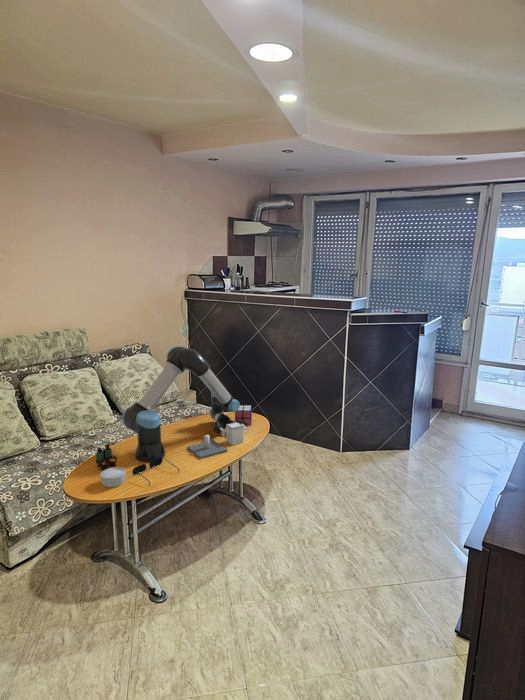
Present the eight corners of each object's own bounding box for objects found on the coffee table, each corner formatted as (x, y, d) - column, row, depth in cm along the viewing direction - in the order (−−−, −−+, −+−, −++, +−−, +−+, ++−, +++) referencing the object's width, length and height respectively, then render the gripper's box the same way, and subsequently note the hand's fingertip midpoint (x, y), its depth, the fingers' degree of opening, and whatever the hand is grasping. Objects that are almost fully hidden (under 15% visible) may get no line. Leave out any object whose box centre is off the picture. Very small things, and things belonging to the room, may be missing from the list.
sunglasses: (161, 464, 220) (162, 455, 218) (180, 477, 211) (180, 468, 209) (131, 476, 207) (131, 467, 206) (149, 491, 198) (149, 481, 197)
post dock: (200, 459, 225) (199, 444, 223) (187, 448, 238) (186, 434, 236) (227, 451, 234) (227, 437, 232) (213, 441, 247) (212, 428, 245)
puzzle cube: (251, 425, 271) (250, 410, 269) (235, 425, 271) (234, 410, 269) (251, 420, 281) (251, 405, 279) (236, 420, 281) (235, 405, 279)
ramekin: (130, 478, 205) (130, 467, 204) (119, 490, 194) (118, 479, 193) (108, 476, 207) (107, 466, 206) (96, 488, 196) (95, 477, 195)
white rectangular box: (232, 445, 242) (232, 428, 240) (226, 441, 247) (226, 424, 246) (243, 442, 246) (243, 425, 244) (236, 438, 251) (236, 422, 249)
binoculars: (105, 454, 208) (92, 447, 213) (105, 474, 211) (93, 467, 216) (120, 448, 215) (108, 441, 220) (120, 467, 218) (108, 460, 223)
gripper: (241, 422, 271) (255, 434, 252) (203, 428, 260) (214, 441, 241) (241, 411, 269) (255, 422, 250) (202, 417, 259) (214, 429, 240)
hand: (235, 431), depth 246 cm, fingers open, 13 cm apart
